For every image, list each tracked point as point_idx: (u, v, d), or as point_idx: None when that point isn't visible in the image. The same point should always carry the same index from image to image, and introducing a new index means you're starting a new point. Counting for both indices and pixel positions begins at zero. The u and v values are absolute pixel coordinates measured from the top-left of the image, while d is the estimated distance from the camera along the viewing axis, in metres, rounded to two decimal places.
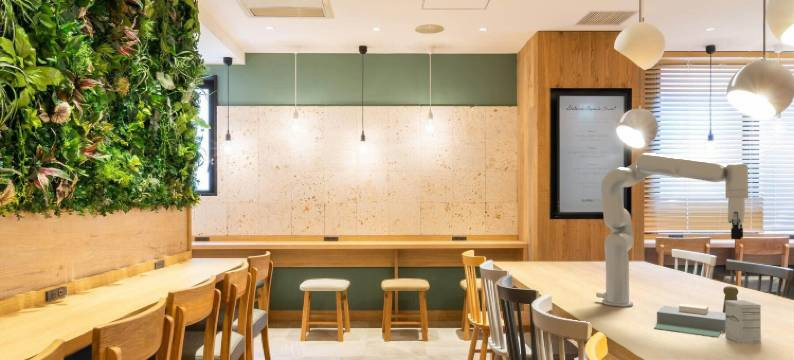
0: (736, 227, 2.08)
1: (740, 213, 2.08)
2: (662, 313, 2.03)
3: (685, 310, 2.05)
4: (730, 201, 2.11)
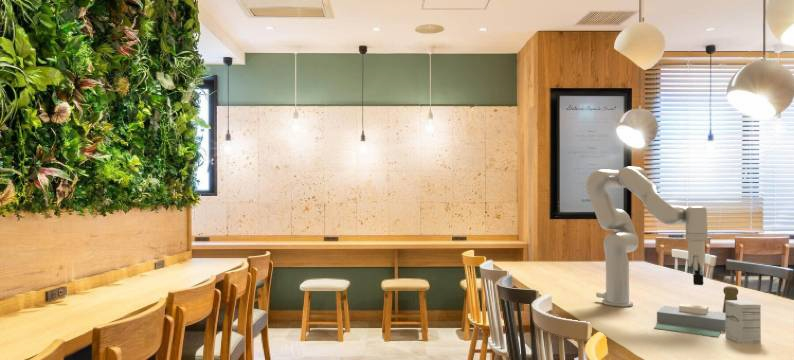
0: (698, 273, 2.11)
1: (700, 257, 2.08)
2: (662, 313, 2.03)
3: (685, 310, 2.05)
4: (690, 245, 2.10)
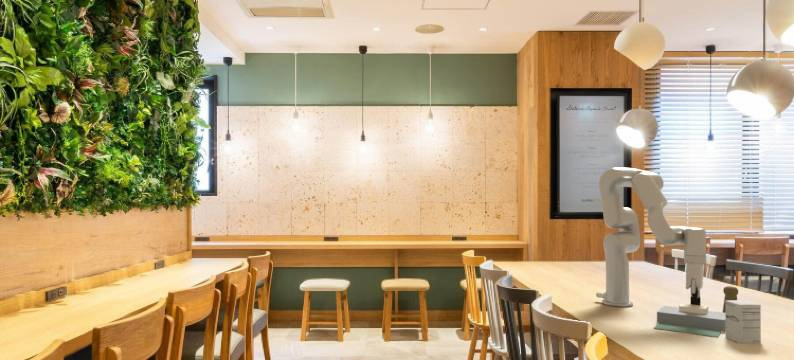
0: (695, 296, 2.08)
1: (698, 280, 2.05)
2: (662, 313, 2.03)
3: (685, 310, 2.05)
4: (688, 267, 2.07)
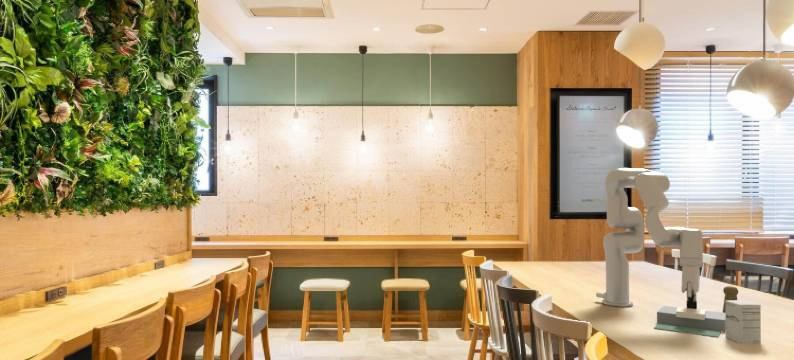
0: (691, 300, 2.00)
1: (694, 283, 1.97)
2: (662, 313, 2.03)
3: (682, 316, 1.96)
4: (684, 270, 1.99)
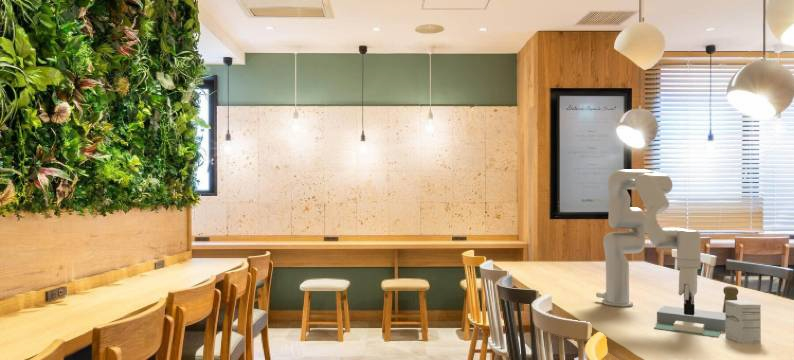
0: (689, 302, 1.95)
1: (691, 285, 1.92)
2: (662, 313, 2.03)
3: None
4: (681, 272, 1.95)
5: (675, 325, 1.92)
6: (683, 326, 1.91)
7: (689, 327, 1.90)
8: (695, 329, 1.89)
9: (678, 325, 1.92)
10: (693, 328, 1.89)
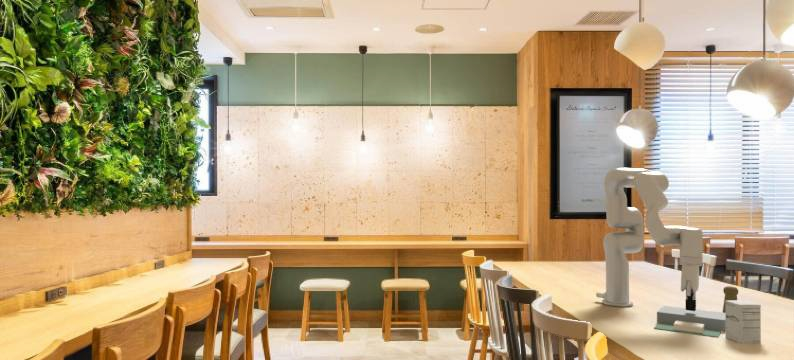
0: (690, 298, 2.01)
1: (693, 282, 1.98)
2: (662, 313, 2.03)
3: None
4: (683, 269, 2.00)
5: (675, 325, 1.92)
6: (683, 326, 1.91)
7: (689, 327, 1.90)
8: (695, 329, 1.89)
9: (678, 325, 1.92)
10: (693, 328, 1.89)
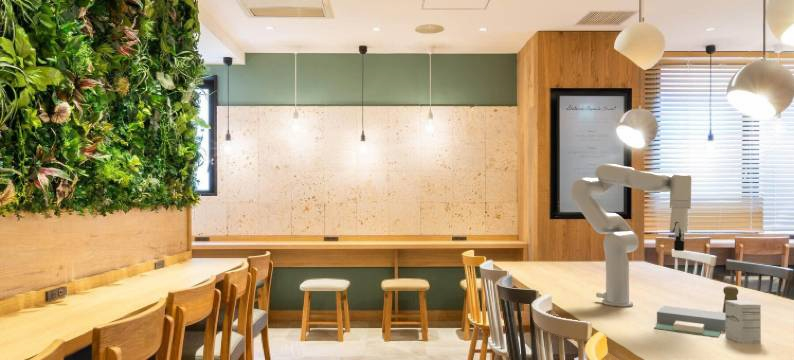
0: (679, 239, 2.16)
1: (681, 223, 2.13)
2: (662, 313, 2.03)
3: None
4: (672, 211, 2.15)
5: (675, 325, 1.92)
6: (683, 326, 1.91)
7: (689, 327, 1.90)
8: (695, 329, 1.89)
9: (678, 325, 1.92)
10: (693, 328, 1.89)
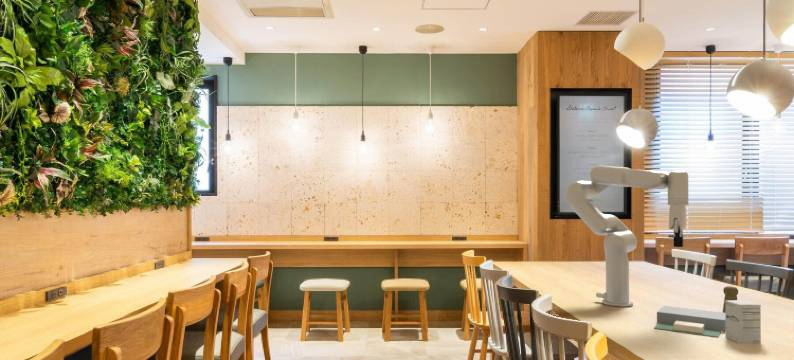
0: (678, 235, 2.19)
1: (680, 219, 2.16)
2: (662, 313, 2.03)
3: None
4: (671, 208, 2.18)
5: (675, 325, 1.92)
6: (683, 326, 1.91)
7: (689, 327, 1.90)
8: (695, 329, 1.89)
9: (678, 325, 1.92)
10: (693, 328, 1.89)
